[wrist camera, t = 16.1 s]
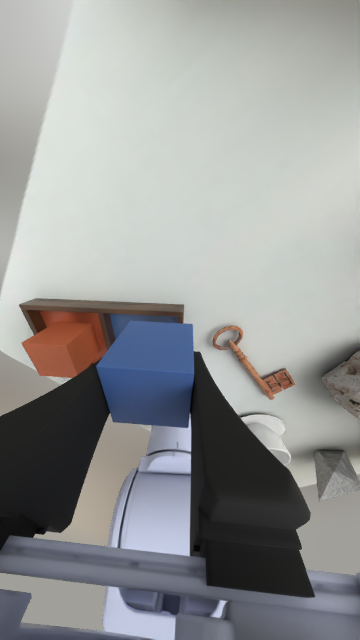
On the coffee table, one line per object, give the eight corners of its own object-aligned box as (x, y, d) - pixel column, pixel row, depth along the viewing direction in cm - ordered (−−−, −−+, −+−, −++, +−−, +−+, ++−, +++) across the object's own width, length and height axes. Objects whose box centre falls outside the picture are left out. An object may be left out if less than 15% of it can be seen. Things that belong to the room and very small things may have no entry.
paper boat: (373, 457, 28) (354, 493, 30) (328, 428, 33) (314, 460, 35) (362, 498, 22) (338, 540, 24) (308, 454, 27) (292, 491, 29)
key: (293, 383, 23) (248, 309, 17) (298, 388, 22) (252, 312, 17) (258, 399, 24) (206, 336, 19) (261, 405, 23) (208, 340, 18)
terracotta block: (100, 351, 21) (79, 378, 17) (68, 350, 21) (39, 375, 17) (92, 323, 18) (65, 345, 14) (57, 321, 19) (20, 343, 15)
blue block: (188, 370, 13) (188, 428, 9) (136, 366, 13) (112, 422, 9) (192, 323, 11) (194, 373, 7) (130, 320, 11) (95, 366, 7)
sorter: (184, 304, 17) (183, 312, 16) (181, 367, 22) (180, 379, 20) (35, 298, 18) (18, 304, 16) (63, 360, 23) (52, 371, 21)
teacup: (295, 418, 26) (315, 452, 22) (265, 445, 31) (277, 477, 27) (241, 406, 25) (251, 438, 21) (219, 435, 30) (223, 466, 26)
